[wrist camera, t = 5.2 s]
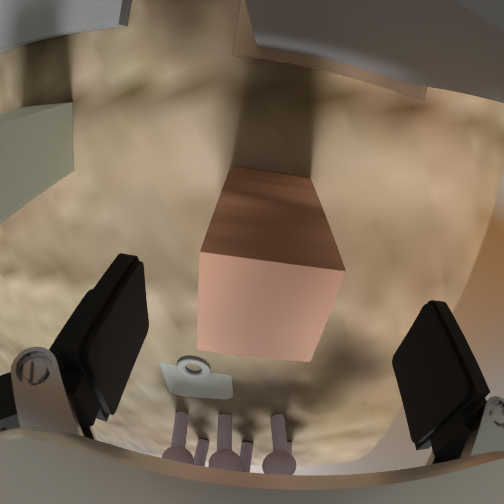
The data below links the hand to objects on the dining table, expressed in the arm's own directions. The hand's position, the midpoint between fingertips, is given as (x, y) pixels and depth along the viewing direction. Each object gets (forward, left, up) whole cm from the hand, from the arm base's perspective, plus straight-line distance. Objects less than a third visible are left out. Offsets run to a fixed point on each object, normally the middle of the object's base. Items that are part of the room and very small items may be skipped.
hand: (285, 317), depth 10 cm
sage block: (-14, +3, -8) cm, 16 cm away
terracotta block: (-1, 0, -8) cm, 8 cm away
